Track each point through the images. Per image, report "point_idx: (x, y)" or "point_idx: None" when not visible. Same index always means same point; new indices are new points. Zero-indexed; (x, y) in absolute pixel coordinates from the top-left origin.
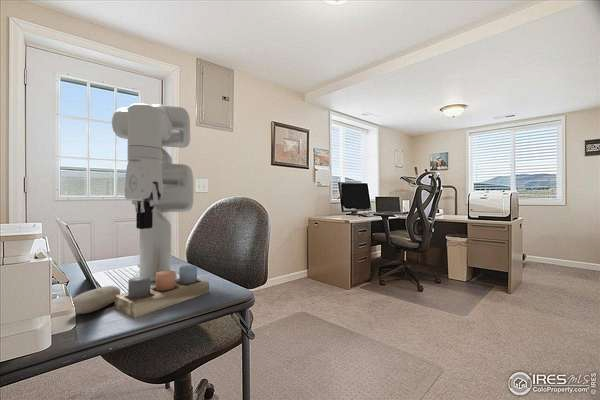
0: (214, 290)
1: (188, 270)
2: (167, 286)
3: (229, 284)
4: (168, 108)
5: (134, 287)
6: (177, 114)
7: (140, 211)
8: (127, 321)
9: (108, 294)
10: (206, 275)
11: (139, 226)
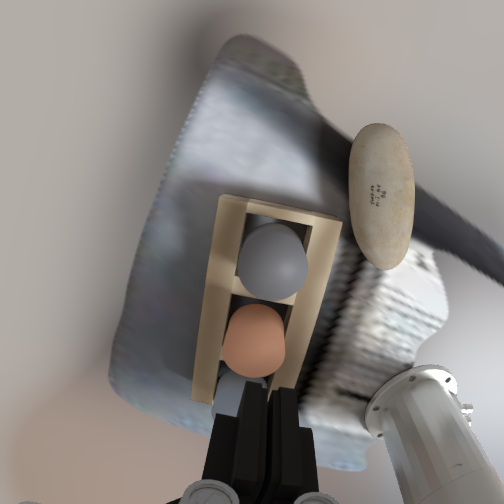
0: None
1: (218, 398)
2: (231, 319)
3: (195, 430)
4: None
5: (259, 233)
6: None
7: (235, 496)
8: (224, 171)
9: (358, 214)
10: None
11: (248, 389)
